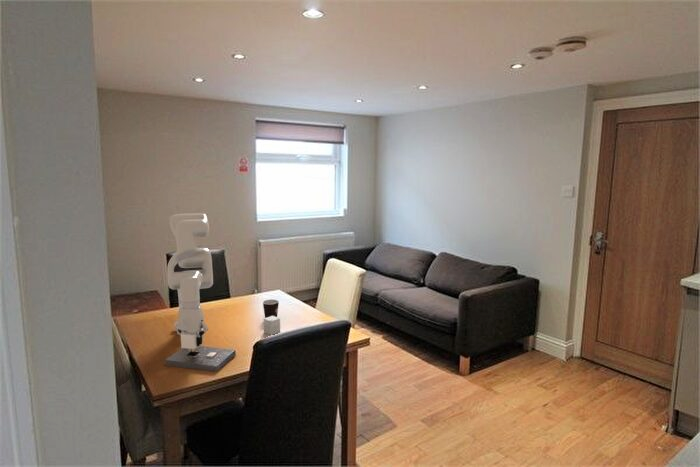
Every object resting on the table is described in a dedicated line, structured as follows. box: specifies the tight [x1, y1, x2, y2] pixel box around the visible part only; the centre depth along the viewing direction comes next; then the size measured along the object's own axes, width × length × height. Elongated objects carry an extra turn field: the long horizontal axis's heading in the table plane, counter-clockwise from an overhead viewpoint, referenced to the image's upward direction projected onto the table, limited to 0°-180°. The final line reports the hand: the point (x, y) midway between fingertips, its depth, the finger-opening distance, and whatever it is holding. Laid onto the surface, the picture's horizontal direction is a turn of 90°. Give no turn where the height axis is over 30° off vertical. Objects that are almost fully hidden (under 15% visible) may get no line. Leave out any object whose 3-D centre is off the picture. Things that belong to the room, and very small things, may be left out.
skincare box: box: [263, 316, 281, 336], centre depth 214 cm, size 6×6×7 cm
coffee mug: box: [262, 299, 280, 318], centre depth 232 cm, size 12×9×10 cm
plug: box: [180, 330, 204, 352], centre depth 182 cm, size 6×7×8 cm
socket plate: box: [164, 345, 236, 372], centre depth 182 cm, size 24×16×3 cm, turn 77°
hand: (192, 343), depth 182 cm, fingers closed on plug, 6 cm apart
